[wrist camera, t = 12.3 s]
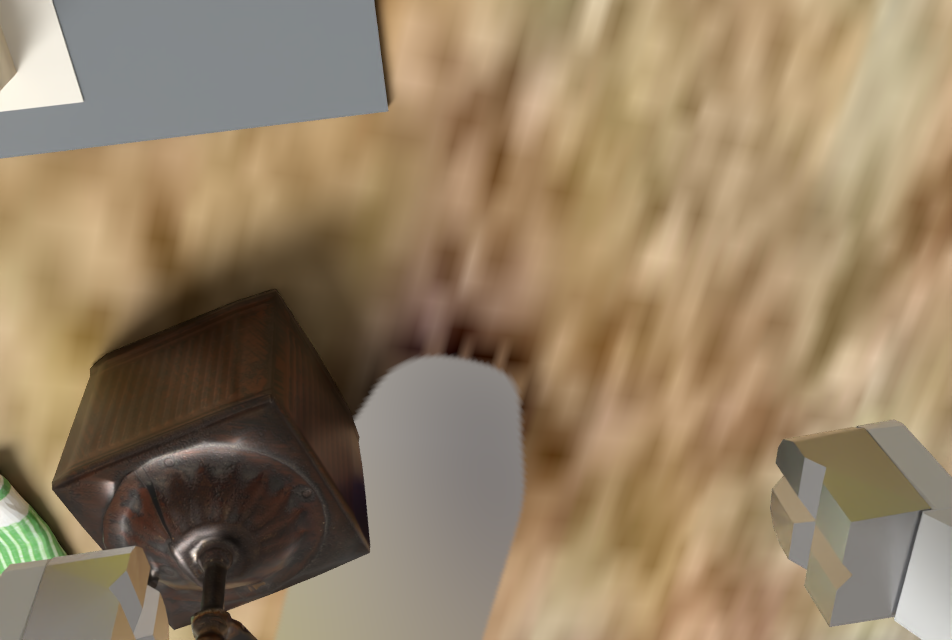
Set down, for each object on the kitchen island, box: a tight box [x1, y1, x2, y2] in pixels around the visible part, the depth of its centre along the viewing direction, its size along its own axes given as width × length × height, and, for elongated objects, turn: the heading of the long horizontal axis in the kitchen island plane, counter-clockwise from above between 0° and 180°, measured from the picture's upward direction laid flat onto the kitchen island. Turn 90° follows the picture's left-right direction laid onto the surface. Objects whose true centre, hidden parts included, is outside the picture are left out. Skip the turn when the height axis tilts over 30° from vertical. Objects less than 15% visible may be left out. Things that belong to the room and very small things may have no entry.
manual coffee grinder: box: [52, 289, 370, 640], centre depth 41 cm, size 16×11×18 cm
